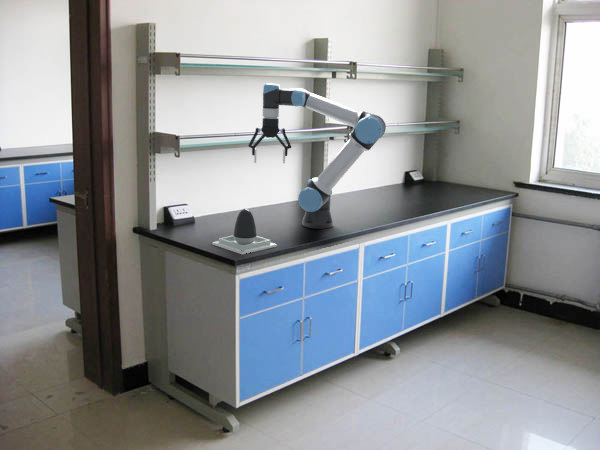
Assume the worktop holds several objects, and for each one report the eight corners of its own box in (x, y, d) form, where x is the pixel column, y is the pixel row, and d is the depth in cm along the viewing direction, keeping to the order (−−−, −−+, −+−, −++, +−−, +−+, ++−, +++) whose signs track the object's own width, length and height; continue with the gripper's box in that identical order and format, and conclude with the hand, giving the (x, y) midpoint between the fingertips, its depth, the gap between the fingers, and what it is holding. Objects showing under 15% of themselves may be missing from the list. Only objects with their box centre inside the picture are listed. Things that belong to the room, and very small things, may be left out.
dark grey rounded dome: (255, 240, 295) (256, 206, 291) (257, 246, 285) (258, 211, 281) (232, 240, 293) (232, 206, 290) (233, 246, 283) (234, 211, 280)
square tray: (246, 237, 303) (246, 229, 302) (277, 246, 290) (277, 238, 289) (212, 244, 289) (212, 236, 288) (242, 254, 275) (242, 246, 275)
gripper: (296, 117, 315) (294, 161, 320) (243, 116, 312) (243, 160, 317) (297, 119, 307) (296, 164, 313) (244, 117, 305) (243, 163, 310)
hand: (269, 162), depth 315 cm, fingers open, 13 cm apart
